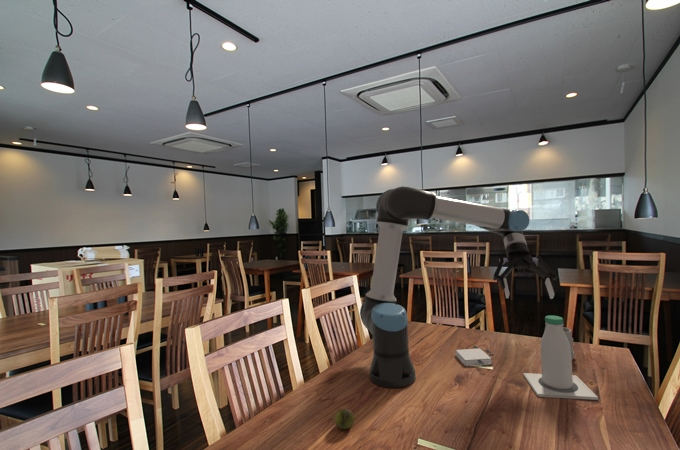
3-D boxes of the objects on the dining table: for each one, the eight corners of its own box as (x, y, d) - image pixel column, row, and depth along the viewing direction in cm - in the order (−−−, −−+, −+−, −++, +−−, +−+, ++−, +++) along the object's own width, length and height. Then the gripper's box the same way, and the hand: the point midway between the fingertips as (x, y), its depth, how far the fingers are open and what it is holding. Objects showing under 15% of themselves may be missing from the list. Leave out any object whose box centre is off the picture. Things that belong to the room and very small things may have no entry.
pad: (537, 396, 96) (537, 393, 96) (523, 375, 109) (523, 372, 109) (598, 400, 93) (597, 396, 93) (576, 377, 105) (576, 375, 105)
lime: (332, 427, 87) (331, 408, 87) (347, 420, 90) (346, 402, 90) (342, 436, 83) (341, 416, 83) (358, 428, 86) (357, 409, 86)
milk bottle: (579, 389, 97) (575, 320, 97) (552, 391, 97) (548, 321, 97) (562, 377, 105) (558, 313, 104) (536, 378, 105) (533, 314, 104)
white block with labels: (450, 350, 133) (450, 343, 133) (479, 348, 133) (479, 341, 133) (471, 374, 113) (470, 366, 113) (505, 372, 113) (505, 364, 113)
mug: (560, 362, 117) (559, 327, 117) (536, 349, 128) (534, 318, 128) (580, 359, 118) (578, 325, 118) (554, 347, 129) (553, 316, 129)
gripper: (550, 253, 128) (568, 302, 113) (480, 254, 134) (488, 301, 119) (555, 240, 122) (575, 290, 108) (482, 242, 128) (491, 290, 114)
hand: (529, 296), depth 114 cm, fingers open, 13 cm apart
